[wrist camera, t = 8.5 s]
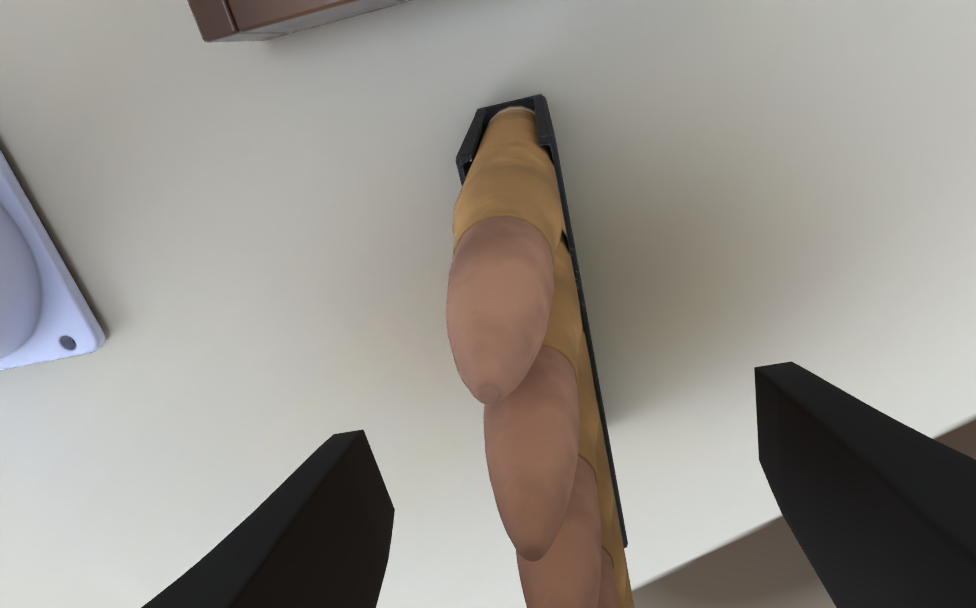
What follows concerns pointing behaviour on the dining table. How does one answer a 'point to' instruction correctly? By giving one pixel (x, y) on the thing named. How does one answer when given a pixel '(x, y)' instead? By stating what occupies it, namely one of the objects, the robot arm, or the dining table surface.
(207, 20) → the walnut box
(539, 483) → the ammunition clip
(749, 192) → the dining table surface
